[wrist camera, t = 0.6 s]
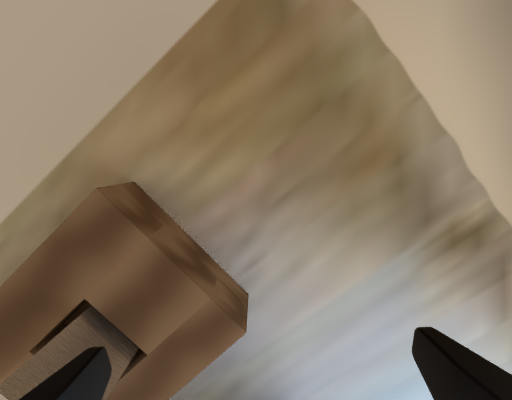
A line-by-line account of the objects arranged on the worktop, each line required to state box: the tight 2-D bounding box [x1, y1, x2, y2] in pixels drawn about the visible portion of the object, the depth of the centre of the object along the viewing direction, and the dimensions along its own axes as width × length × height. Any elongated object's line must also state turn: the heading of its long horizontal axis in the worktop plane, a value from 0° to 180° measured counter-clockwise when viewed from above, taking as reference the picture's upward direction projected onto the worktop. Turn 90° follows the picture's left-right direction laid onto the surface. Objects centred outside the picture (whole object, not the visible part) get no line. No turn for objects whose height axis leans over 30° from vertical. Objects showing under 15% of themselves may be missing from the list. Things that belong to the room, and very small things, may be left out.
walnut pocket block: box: [0, 182, 248, 400], centre depth 22 cm, size 15×20×6 cm
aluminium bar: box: [0, 305, 139, 400], centre depth 18 cm, size 5×5×10 cm
